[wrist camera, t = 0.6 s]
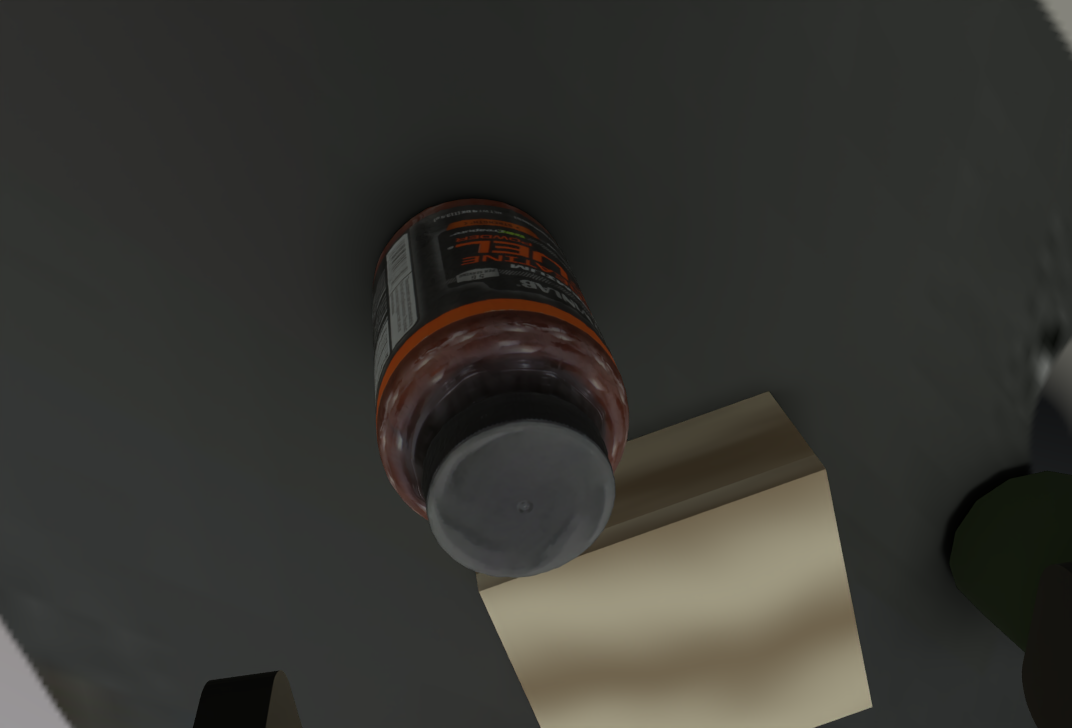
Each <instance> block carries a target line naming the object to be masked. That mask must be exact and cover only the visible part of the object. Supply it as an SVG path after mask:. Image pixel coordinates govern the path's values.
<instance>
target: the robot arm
mask: <svg viewBox="0 0 1072 728" xmlns="http://www.w3.org/2000/svg"><path fill="white" fill-rule="evenodd" d="M1022 683H1023V689H1024V694H1025V698H1026V702H1027V705H1028V708H1029V711H1030V713H1031V715H1032V718H1033V720H1034V722H1035V724H1036V726H1037V727H1038V728H1072V562H1067V563H1060V564H1053V565H1049V566H1048V567H1046V568H1045V569H1044V571H1043V572H1042V574H1041V577H1040V581H1039V585H1038V590H1037V595H1036V600H1035V605H1034V610H1033V615H1032V621H1031V626H1030V631H1029V636H1028V641H1027V646H1026V651H1025V656H1024V661H1023V667H1022ZM193 728H302V725H301V722H300V718H299V715H298V712H297V708H296V705H295V702H294V698H293V695H292V691H291V688H290V685H289V682H288V679H287V677H286V675H285V673H284V672H283V671H273V672H266V673H259V674H252V675H245V676H238V677H231V678H223V679H216V680H210V681H208V682H207V683H206V685H205V686H204V689H203V691H202V694H201V698H200V702H199V706H198V710H197V714H196V718H195V722H194V726H193Z"/></svg>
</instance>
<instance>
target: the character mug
mask: <svg viewBox="0 0 1072 728" xmlns="http://www.w3.org/2000/svg"><path fill="white" fill-rule="evenodd" d="M1067 562H1072V475H1068V474H1062V473H1057V472H1051V471H1044V472H1040V473H1035V474H1030V475H1026V476H1021V477H1016V478H1012V479H1009V480H1007V481H1006V482H1004V483H1003V484H1001V485H1000V486H998V487H997V488H995V489H994V490H992V491H991V492H989V493H988V494H986V495H985V496H983V497H982V498H980V499H979V500H977V501H976V502H975V504H974V505H973V507H972V508H971V510H970V511H969V513H968V514H967V516H966V517H965V518H964V520H963V521H962V523H961V524H960V526H959V527H958V529H957V530H956V532H955V537H954V542H953V547H952V552H951V557H950V562H949V564H950V568H951V571H952V574H953V577H954V580H955V583H956V587H957V588H958V589H959V590H960V591H961V592H962V593H963V594H964V595H965V596H966V597H967V598H968V599H969V600H970V601H971V602H972V603H973V604H974V606H975V607H976V608H977V609H978V610H979V611H980V612H981V613H982V614H983V615H984V616H985V617H987V618H988V619H989V620H990V621H991V622H992V623H993V624H994V625H995V626H996V627H998V628H999V629H1000V630H1001V631H1002V632H1003V633H1004V634H1005V635H1006V636H1008V637H1009V638H1010V639H1011V640H1012V641H1013V642H1014V643H1015V644H1016V645H1017V646H1018V647H1020V648H1021V649H1022V650H1023V651H1024V652H1025V651H1026V646H1027V641H1028V636H1029V631H1030V626H1031V621H1032V615H1033V610H1034V605H1035V600H1036V595H1037V590H1038V585H1039V581H1040V577H1041V574H1042V572H1043V571H1044V569H1045V568H1046V567H1048V566H1049V565H1053V564H1060V563H1067Z"/></svg>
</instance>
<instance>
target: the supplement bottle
mask: <svg viewBox="0 0 1072 728" xmlns="http://www.w3.org/2000/svg"><path fill="white" fill-rule="evenodd" d="M372 322H373V347H374V373H375V409H376V424H377V441H378V447H379V451H380V456H381V461H382V463H383V466H384V469H385V471H386V474H387V476H388V478H389V481H390V483H391V484H392V485H393V487H394V488H395V490H396V491H397V493H398V494H399V495H400V496H401V498H402V499H403V501H404V502H405V503H406V504H407V505H408V506H409V507H411V508H412V509H413V510H414V511H415V512H417V513H418V514H419V515H421V516H422V517H424V518H425V519H427V520H428V521H429V525H430V527H431V531H432V533H433V534H434V536H435V538H436V540H437V541H438V543H439V545H440V546H441V547H442V548H443V549H444V550H445V551H446V552H447V553H448V554H449V555H450V556H451V557H452V558H453V559H454V560H455V561H457V562H459V563H460V564H462V565H463V566H465V567H466V568H469V569H472V570H474V571H476V572H478V573H482V574H486V575H489V576H494V577H512V578H518V577H529V576H534V575H538V574H540V573H545V572H548V571H550V570H553V569H556V568H559V567H561V566H562V565H564V564H566V563H568V562H569V561H571V560H573V559H575V558H576V557H578V556H579V555H580V554H582V553H583V552H584V551H585V550H586V549H588V548H589V547H590V546H591V545H592V544H593V543H594V542H595V540H596V539H597V538H598V537H599V535H600V534H601V533H602V532H603V530H604V528H605V526H606V524H607V522H608V521H609V518H610V516H611V513H612V509H613V507H614V501H615V478H614V473H615V470H616V468H617V466H618V464H619V462H620V461H621V457H622V455H623V452H624V449H625V445H626V442H627V434H628V428H629V408H628V402H627V396H626V391H625V387H624V384H623V381H622V377H621V375H620V373H619V371H618V369H617V367H616V364H615V362H614V359H613V357H612V355H611V353H610V350H609V348H608V347H607V345H606V343H605V341H604V338H603V336H602V334H601V332H600V330H599V327H598V325H597V324H596V322H595V320H594V318H593V316H592V314H591V312H590V309H589V307H588V305H587V304H586V302H585V299H584V297H583V295H582V292H581V290H580V288H579V286H578V283H577V280H576V279H575V277H574V275H573V274H572V272H571V270H570V267H569V265H568V263H567V260H566V258H565V256H564V254H563V252H562V251H561V249H560V248H559V247H558V245H557V243H556V242H555V240H554V239H553V238H552V236H551V235H550V234H549V232H548V231H547V230H546V229H545V228H544V227H543V226H542V225H541V224H540V223H539V222H537V221H536V220H535V219H534V218H532V217H531V216H529V215H528V214H527V213H525V212H523V211H521V210H520V209H518V208H516V207H513V206H510V205H508V204H506V203H503V202H499V201H493V200H487V199H461V200H455V201H450V202H445V203H442V204H440V205H437V206H434V207H429V208H427V209H425V210H424V211H422V212H421V213H419V214H417V215H416V216H414V217H413V218H411V219H410V220H409V221H408V222H407V223H405V225H404V226H403V227H402V228H401V229H399V230H398V231H397V232H396V233H395V235H394V236H393V237H392V238H391V240H390V242H389V243H388V244H387V245H386V247H385V248H384V250H383V252H382V254H381V256H380V259H379V261H378V264H377V267H376V270H375V276H374V281H373V292H372Z"/></svg>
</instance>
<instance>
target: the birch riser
mask: <svg viewBox="0 0 1072 728" xmlns="http://www.w3.org/2000/svg"><path fill="white" fill-rule="evenodd" d="M614 478H615V501H614V507H613V509H612V513H611V516H610V518H609V521H608V522H607V524H606V526H605V528H604V530H603V532H602V533H601V534H600V535H599V537H598V538H597V539H596V540H595V542H594V543H593V544H592V545H591V546H590V547H589V548H588V549H586V550H585V551H584V552H583V553H582V554H580V555H579V556H578V557H576V558H575V559H573V560H571V561H569V562H568V563H566V564H564V565H562V566H561V567H559V568H556V569H553V570H550V571H548V572H545V573H540V574H538V575H534V576H529V577H518V578H512V577H494V576H489V575H486V574H482V573H478V572H476V577H477V583H478V589H479V593H480V595H481V597H482V599H483V602H484V604H485V606H486V608H487V610H488V613H489V615H490V617H491V619H492V621H493V623H494V626H495V628H496V630H497V632H498V634H499V637H500V639H501V641H502V643H503V645H504V648H505V650H506V652H507V654H508V656H509V659H510V661H511V663H512V665H513V667H514V670H515V672H516V674H517V676H518V678H519V680H520V683H521V685H522V687H523V689H524V691H525V694H526V696H527V698H528V700H529V702H530V705H531V707H532V709H533V711H534V713H535V716H536V718H537V720H538V722H539V724H540V726H541V728H814V727H817V726H819V725H822V724H825V723H828V722H831V721H834V720H837V719H839V718H842V717H845V716H848V715H851V714H854V713H856V712H859V711H862V710H865V709H868V708H871V707H872V703H871V698H870V693H869V687H868V682H867V677H866V672H865V667H864V662H863V657H862V652H861V647H860V641H859V636H858V631H857V626H856V621H855V616H854V611H853V606H852V601H851V595H850V590H849V585H848V580H847V575H846V570H845V565H844V560H843V555H842V550H841V544H840V539H839V534H838V529H837V524H836V519H835V514H834V509H833V504H832V498H831V493H830V488H829V483H828V478H827V473H826V469H825V467H824V466H823V465H822V463H821V462H820V461H819V459H818V458H817V456H816V455H815V454H814V452H813V451H812V450H811V448H810V447H809V445H808V444H807V443H806V441H805V440H804V439H803V437H802V436H801V434H800V433H799V432H798V430H797V429H796V428H795V426H794V425H793V424H792V422H791V421H790V419H789V418H788V417H787V415H786V414H785V413H784V411H783V410H782V408H781V407H780V406H779V404H778V403H777V402H776V400H775V399H774V398H773V396H772V395H771V393H770V392H769V391H768V392H765V393H762V394H760V395H757V396H754V397H751V398H748V399H746V400H743V401H740V402H737V403H734V404H732V405H729V406H726V407H723V408H720V409H717V410H715V411H712V412H709V413H706V414H703V415H701V416H698V417H695V418H692V419H689V420H687V421H684V422H681V423H678V424H675V425H672V426H670V427H667V428H664V429H661V430H658V431H656V432H653V433H650V434H647V435H644V436H641V437H639V438H636V439H633V440H630V441H627V442H626V445H625V449H624V452H623V455H622V457H621V461H620V462H619V464H618V466H617V468H616V470H615V473H614Z"/></svg>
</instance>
